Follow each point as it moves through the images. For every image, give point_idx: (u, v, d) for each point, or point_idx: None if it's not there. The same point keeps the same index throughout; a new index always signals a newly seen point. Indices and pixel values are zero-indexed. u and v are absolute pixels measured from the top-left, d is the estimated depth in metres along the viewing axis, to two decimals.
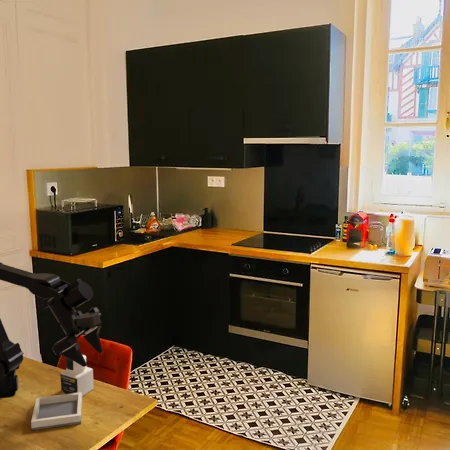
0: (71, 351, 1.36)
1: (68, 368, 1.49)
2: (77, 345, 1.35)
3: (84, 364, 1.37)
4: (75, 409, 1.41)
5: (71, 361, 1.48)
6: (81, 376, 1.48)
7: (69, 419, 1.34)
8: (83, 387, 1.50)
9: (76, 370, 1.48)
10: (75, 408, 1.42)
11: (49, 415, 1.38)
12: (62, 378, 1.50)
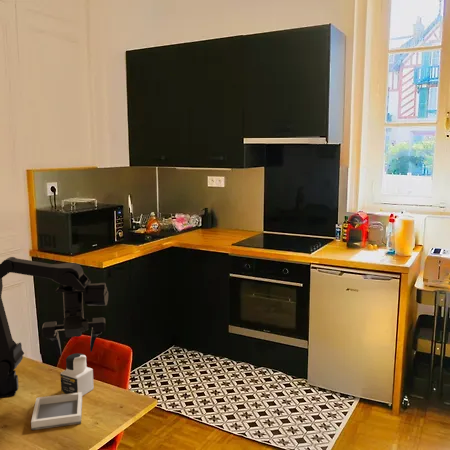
0: None
1: (68, 368, 1.49)
2: (53, 338, 1.45)
3: None
4: (75, 409, 1.41)
5: (71, 361, 1.48)
6: (81, 376, 1.48)
7: (69, 419, 1.34)
8: (83, 387, 1.50)
9: (76, 370, 1.48)
10: (75, 408, 1.42)
11: (49, 415, 1.38)
12: (62, 378, 1.50)
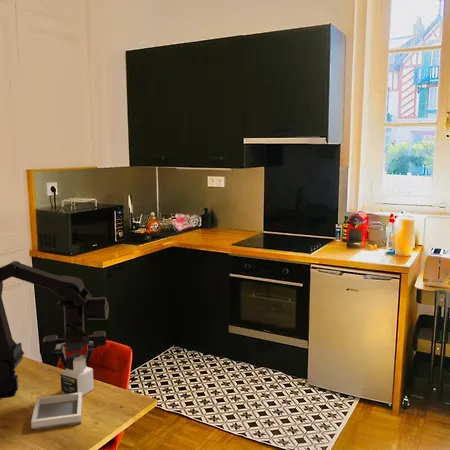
0: None
1: (68, 368, 1.49)
2: (58, 352, 1.46)
3: (64, 366, 1.50)
4: (75, 409, 1.41)
5: (71, 361, 1.48)
6: (81, 376, 1.48)
7: (69, 419, 1.34)
8: (83, 387, 1.50)
9: (76, 370, 1.48)
10: (75, 408, 1.42)
11: (49, 415, 1.38)
12: (62, 378, 1.50)
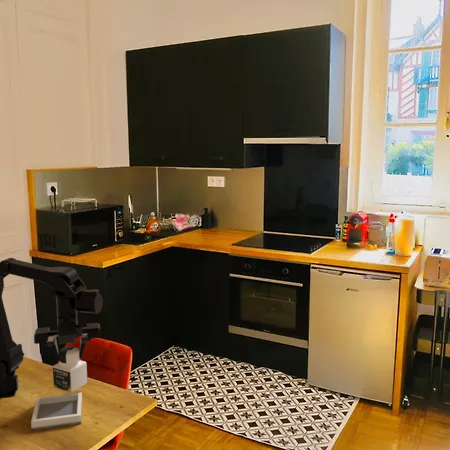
0: None
1: (61, 361, 1.43)
2: (51, 344, 1.41)
3: None
4: (75, 409, 1.41)
5: (64, 354, 1.43)
6: (74, 369, 1.43)
7: (69, 419, 1.34)
8: (77, 381, 1.45)
9: (69, 363, 1.43)
10: (75, 408, 1.42)
11: (49, 415, 1.38)
12: (54, 372, 1.45)
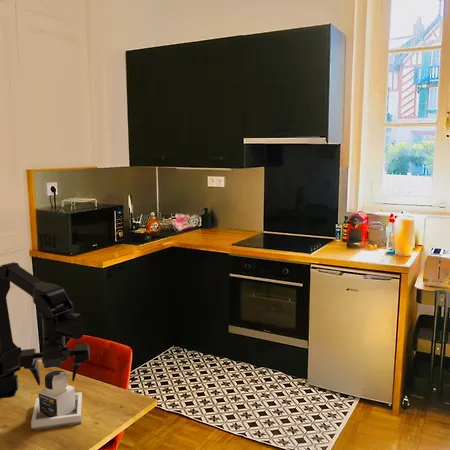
0: None
1: (47, 387, 1.36)
2: (30, 368, 1.33)
3: None
4: (75, 409, 1.41)
5: (50, 380, 1.35)
6: (61, 396, 1.36)
7: (69, 419, 1.34)
8: (64, 407, 1.37)
9: (55, 389, 1.36)
10: None
11: None
12: (40, 398, 1.37)
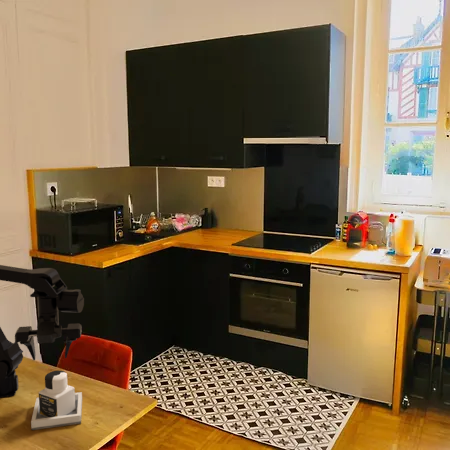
0: None
1: (47, 387, 1.36)
2: (26, 344, 1.44)
3: None
4: (75, 409, 1.41)
5: (50, 380, 1.35)
6: (61, 396, 1.36)
7: (69, 419, 1.34)
8: (64, 407, 1.37)
9: (56, 389, 1.36)
10: None
11: None
12: (40, 398, 1.37)
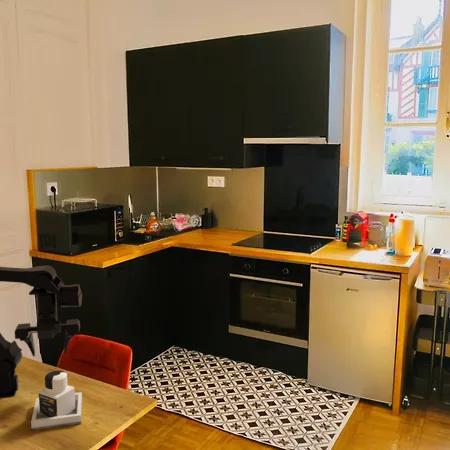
0: None
1: (47, 387, 1.36)
2: (26, 340, 1.46)
3: (32, 354, 1.50)
4: (75, 409, 1.41)
5: (50, 380, 1.35)
6: (61, 396, 1.36)
7: (69, 419, 1.34)
8: (64, 407, 1.37)
9: (55, 389, 1.36)
10: None
11: None
12: (40, 398, 1.37)
